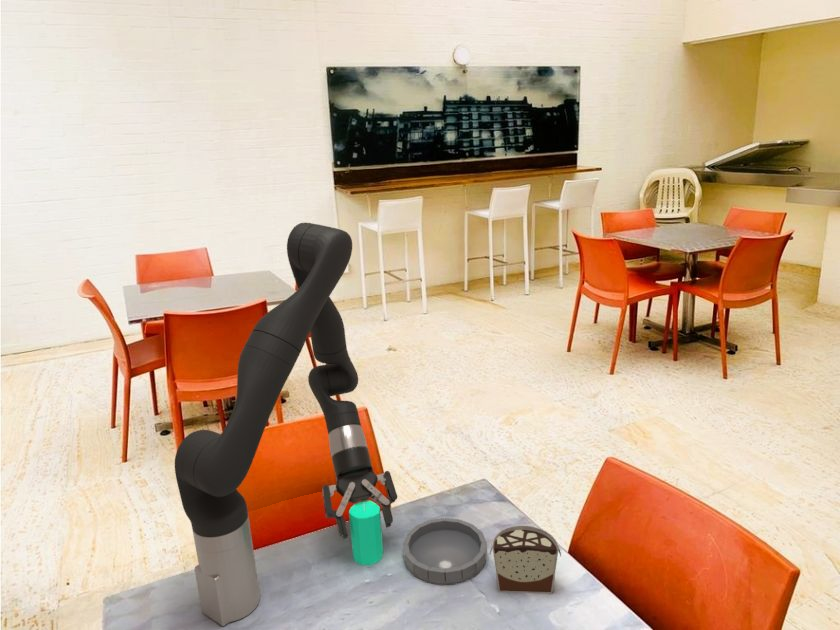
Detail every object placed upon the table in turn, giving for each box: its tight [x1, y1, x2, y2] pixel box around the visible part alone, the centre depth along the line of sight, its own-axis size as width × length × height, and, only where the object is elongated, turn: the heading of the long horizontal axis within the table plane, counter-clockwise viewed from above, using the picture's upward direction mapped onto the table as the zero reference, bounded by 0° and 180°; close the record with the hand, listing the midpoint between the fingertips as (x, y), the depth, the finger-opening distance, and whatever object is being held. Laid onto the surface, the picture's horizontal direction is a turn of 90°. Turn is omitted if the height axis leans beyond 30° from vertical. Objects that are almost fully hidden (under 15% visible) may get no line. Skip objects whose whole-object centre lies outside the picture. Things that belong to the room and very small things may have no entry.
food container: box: [489, 525, 562, 595], centre depth 108 cm, size 12×6×10 cm, turn 84°
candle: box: [348, 499, 384, 566], centre depth 116 cm, size 6×6×12 cm
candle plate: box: [402, 517, 488, 586], centre depth 116 cm, size 16×16×3 cm
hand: (367, 531), depth 115 cm, fingers open, 8 cm apart
